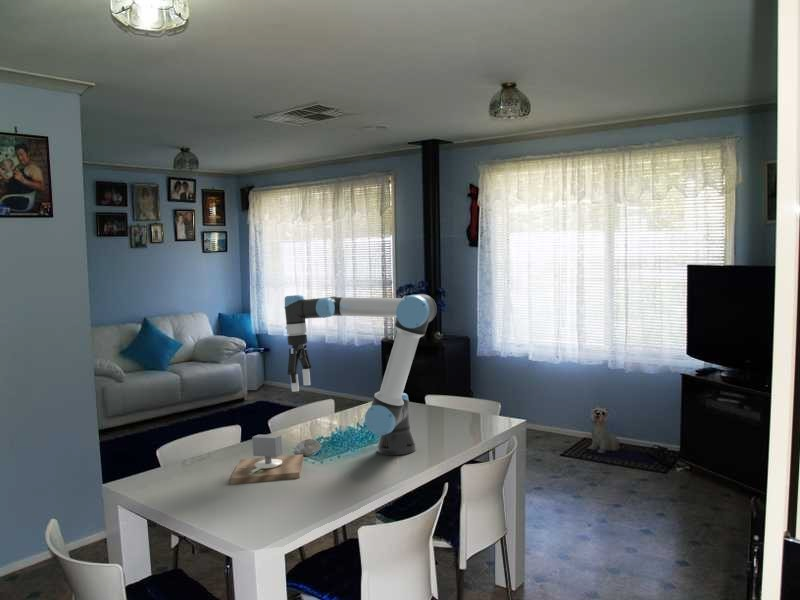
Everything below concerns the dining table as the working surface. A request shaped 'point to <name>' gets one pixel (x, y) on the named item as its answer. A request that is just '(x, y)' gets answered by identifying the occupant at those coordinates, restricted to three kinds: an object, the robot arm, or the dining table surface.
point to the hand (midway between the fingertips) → (301, 388)
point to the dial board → (267, 470)
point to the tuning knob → (267, 450)
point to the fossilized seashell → (307, 447)
